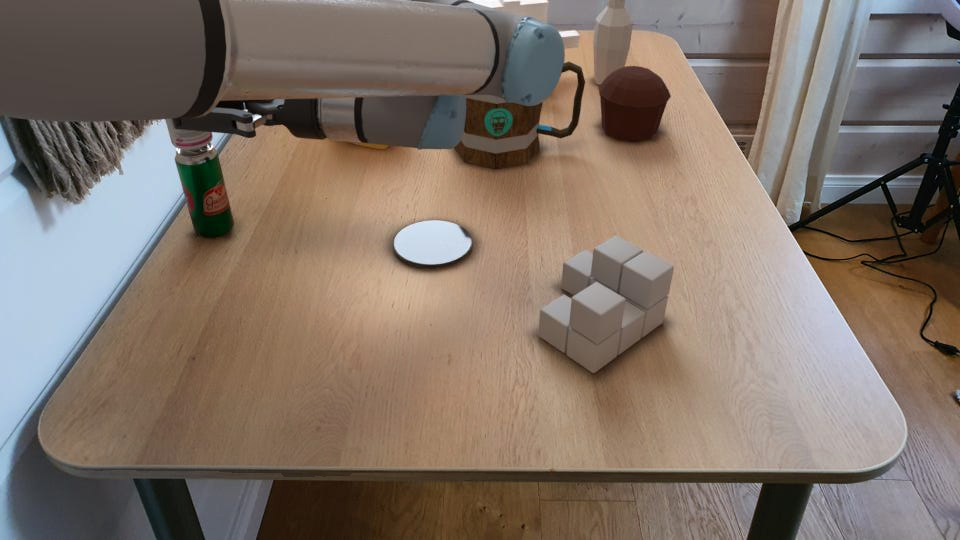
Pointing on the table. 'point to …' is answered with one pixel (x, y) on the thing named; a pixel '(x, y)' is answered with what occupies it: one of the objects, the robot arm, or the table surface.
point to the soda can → (205, 191)
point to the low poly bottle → (611, 39)
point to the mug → (509, 128)
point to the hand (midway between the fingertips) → (139, 91)
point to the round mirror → (432, 244)
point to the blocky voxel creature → (531, 14)
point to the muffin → (632, 103)
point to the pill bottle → (187, 137)
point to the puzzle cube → (606, 302)
